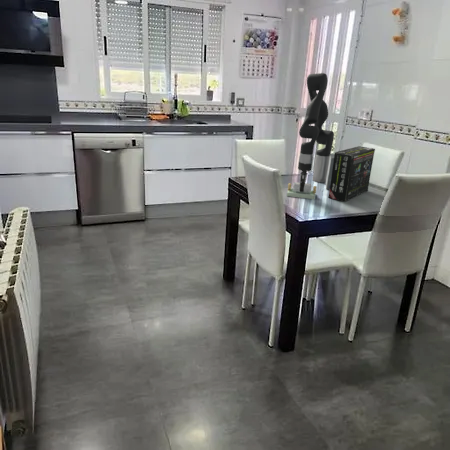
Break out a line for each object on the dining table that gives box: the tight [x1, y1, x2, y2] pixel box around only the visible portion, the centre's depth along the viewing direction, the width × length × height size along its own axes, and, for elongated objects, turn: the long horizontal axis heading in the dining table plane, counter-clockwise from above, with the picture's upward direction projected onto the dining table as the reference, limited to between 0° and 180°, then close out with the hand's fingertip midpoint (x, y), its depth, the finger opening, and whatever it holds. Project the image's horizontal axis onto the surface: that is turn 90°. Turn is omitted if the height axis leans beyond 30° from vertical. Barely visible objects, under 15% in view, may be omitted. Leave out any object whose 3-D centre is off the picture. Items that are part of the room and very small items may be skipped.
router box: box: [328, 145, 376, 203], centre depth 234 cm, size 36×11×27 cm, turn 141°
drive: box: [292, 181, 312, 194], centre depth 230 cm, size 5×10×6 cm, turn 81°
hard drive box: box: [325, 153, 335, 190], centre depth 250 cm, size 16×8×20 cm, turn 168°
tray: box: [286, 182, 317, 200], centre depth 230 cm, size 11×16×6 cm
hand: (301, 190), depth 230 cm, fingers open, 6 cm apart
